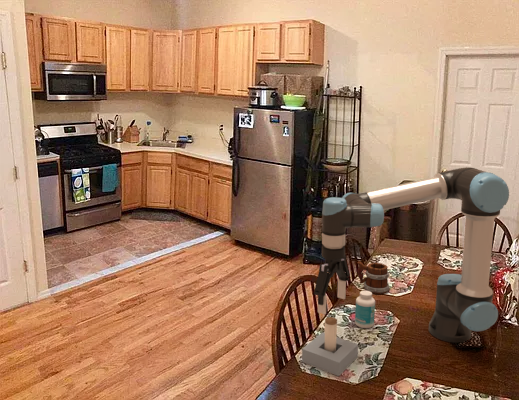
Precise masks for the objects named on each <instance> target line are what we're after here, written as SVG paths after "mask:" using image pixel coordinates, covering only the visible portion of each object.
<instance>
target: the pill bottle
mask: <svg viewBox="0 0 519 400" xmlns="http://www.w3.org/2000/svg"><path fill="white" fill-rule="evenodd" d="M375 310H376V300H375V298H374V297H373V294H372V292H370V291H366V290H361V291H360V292H359V296H357V297H356V299H355V313H354V314H355V315H354V317H355V318H354V323H355V325H356V327H359V328H360V329H361V328H362V329H370V328H373V327H374V326H375V325H374V324H375V316H376V315H375V313H376V311H375Z"/></svg>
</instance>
